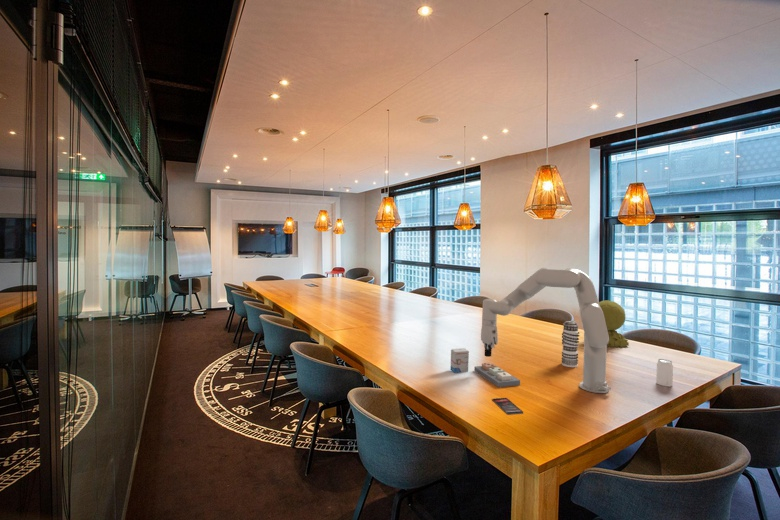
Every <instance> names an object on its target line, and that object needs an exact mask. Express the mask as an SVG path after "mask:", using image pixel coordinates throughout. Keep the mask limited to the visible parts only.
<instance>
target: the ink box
mask: <svg viewBox="0 0 780 520" xmlns="http://www.w3.org/2000/svg"><path fill="white" fill-rule="evenodd" d="M469 353H470V351H469V350H468V349H466V348H465V347H464V348H451V349H450V371H451V372H453V373H454V374H457V373H468V372H469V359H470V357H469V356H470V354H469Z"/></svg>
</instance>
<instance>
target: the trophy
mask: <svg viewBox="0 0 780 520" xmlns="http://www.w3.org/2000/svg"><path fill="white" fill-rule="evenodd" d="M598 302H599V305H600V307H601V309H602V311H603V314H604V318H605V322H606V326H607V331H608V335H609V341H608V343H607V348H609V347H610V348H625V347H628V346H630V345H629V344H630V343H629V342H628V340H629V339H626V337H625V336H624V335H623V334H622V333H621V332H618V331H617V330H619V329H620V328H621V327H623V325H624V323H625V321H626V311H625V310H624V308H623V307H622V306H621V304H619V303H618V302H615V301H612V300H601V301H598Z"/></svg>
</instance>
